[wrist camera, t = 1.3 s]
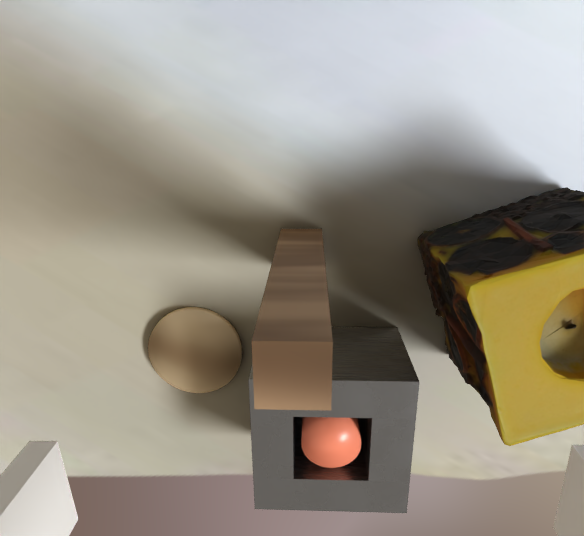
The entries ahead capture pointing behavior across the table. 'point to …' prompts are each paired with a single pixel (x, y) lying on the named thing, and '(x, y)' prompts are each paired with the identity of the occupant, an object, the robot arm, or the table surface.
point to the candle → (516, 309)
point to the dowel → (294, 328)
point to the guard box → (372, 424)
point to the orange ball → (330, 440)
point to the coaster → (195, 350)
